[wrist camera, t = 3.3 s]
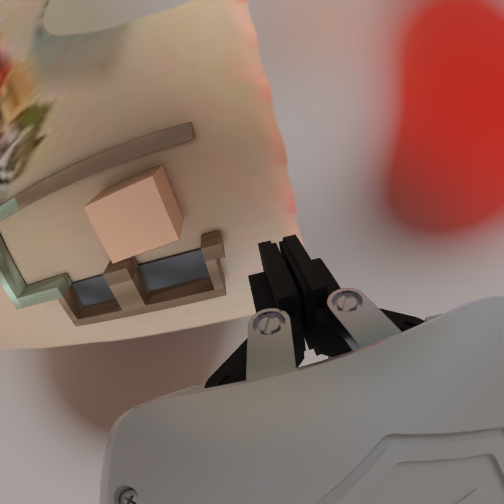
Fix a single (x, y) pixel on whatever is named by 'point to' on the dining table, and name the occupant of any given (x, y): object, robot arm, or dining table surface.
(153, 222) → the block
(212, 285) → the box
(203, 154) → the dining table surface
